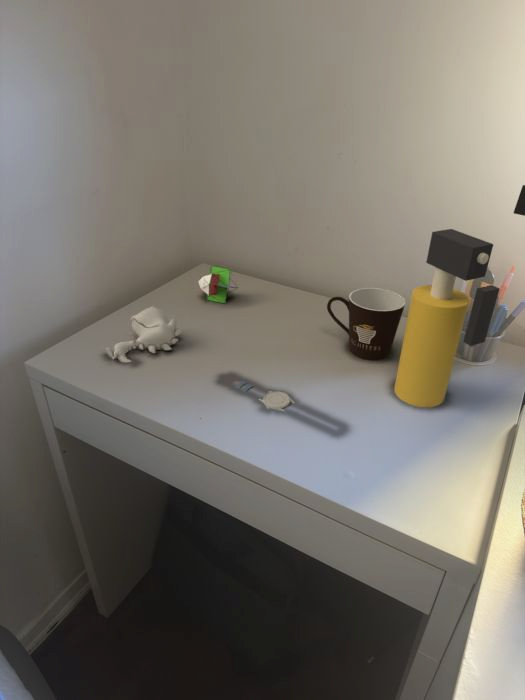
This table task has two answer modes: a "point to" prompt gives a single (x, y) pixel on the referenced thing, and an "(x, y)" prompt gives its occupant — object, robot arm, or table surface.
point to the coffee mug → (371, 321)
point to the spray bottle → (438, 318)
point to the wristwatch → (271, 398)
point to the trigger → (481, 315)
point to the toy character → (148, 333)
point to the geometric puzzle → (216, 284)
